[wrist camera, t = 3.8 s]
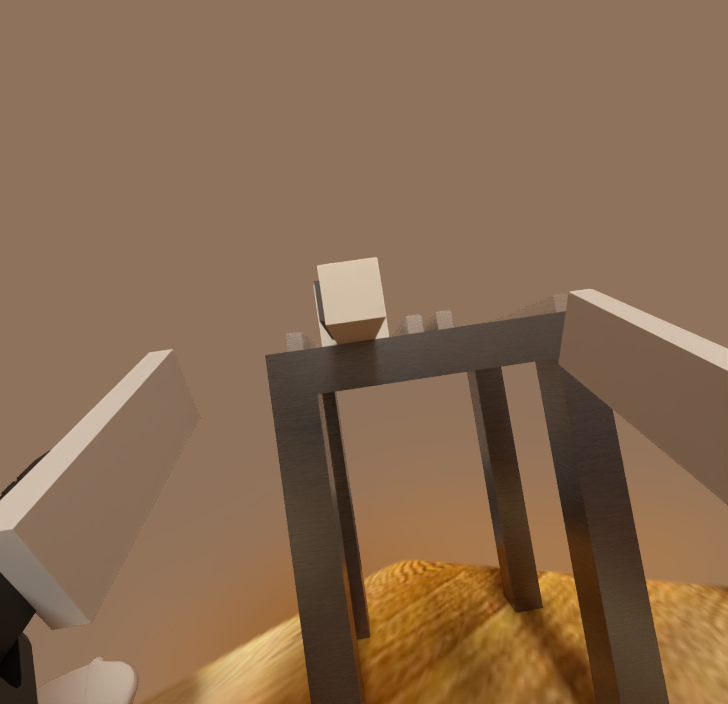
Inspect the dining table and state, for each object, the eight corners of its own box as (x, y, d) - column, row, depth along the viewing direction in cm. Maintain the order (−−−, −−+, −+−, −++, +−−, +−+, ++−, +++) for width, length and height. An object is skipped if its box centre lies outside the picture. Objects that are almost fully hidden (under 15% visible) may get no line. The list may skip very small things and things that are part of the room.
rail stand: (684, 783, 22) (589, 289, 24) (330, 850, 22) (262, 337, 24) (529, 591, 42) (484, 328, 44) (343, 622, 42) (305, 355, 44)
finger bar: (416, 311, 15) (397, 194, 15) (295, 329, 15) (278, 211, 15) (382, 348, 34) (375, 295, 34) (329, 356, 34) (322, 303, 34)
